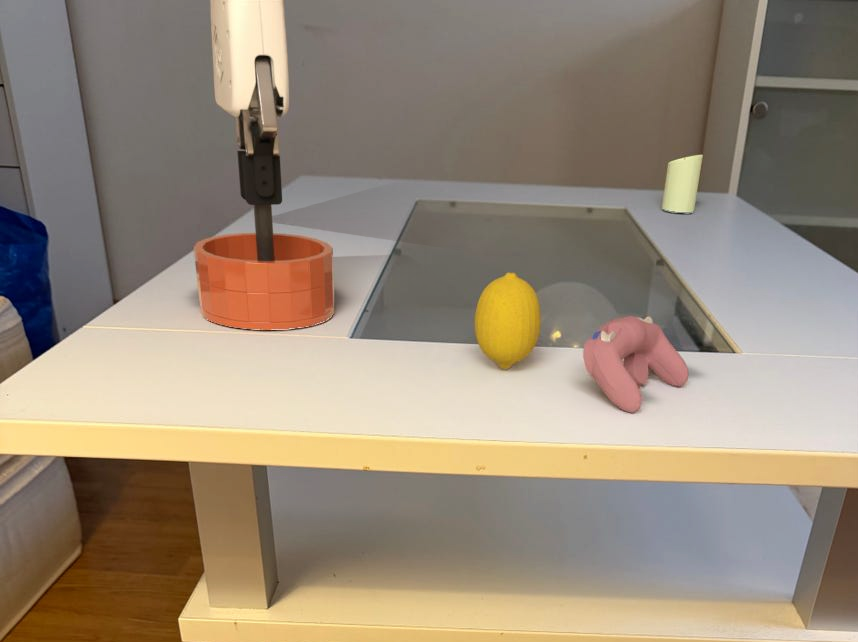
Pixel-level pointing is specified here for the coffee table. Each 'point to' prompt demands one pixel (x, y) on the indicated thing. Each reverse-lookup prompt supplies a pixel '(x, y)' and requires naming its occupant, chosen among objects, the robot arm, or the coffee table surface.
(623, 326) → the video game controller
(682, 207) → the candle
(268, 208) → the ring toss peg
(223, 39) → the robot arm
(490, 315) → the lemon
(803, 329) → the coffee table surface
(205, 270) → the bowl
